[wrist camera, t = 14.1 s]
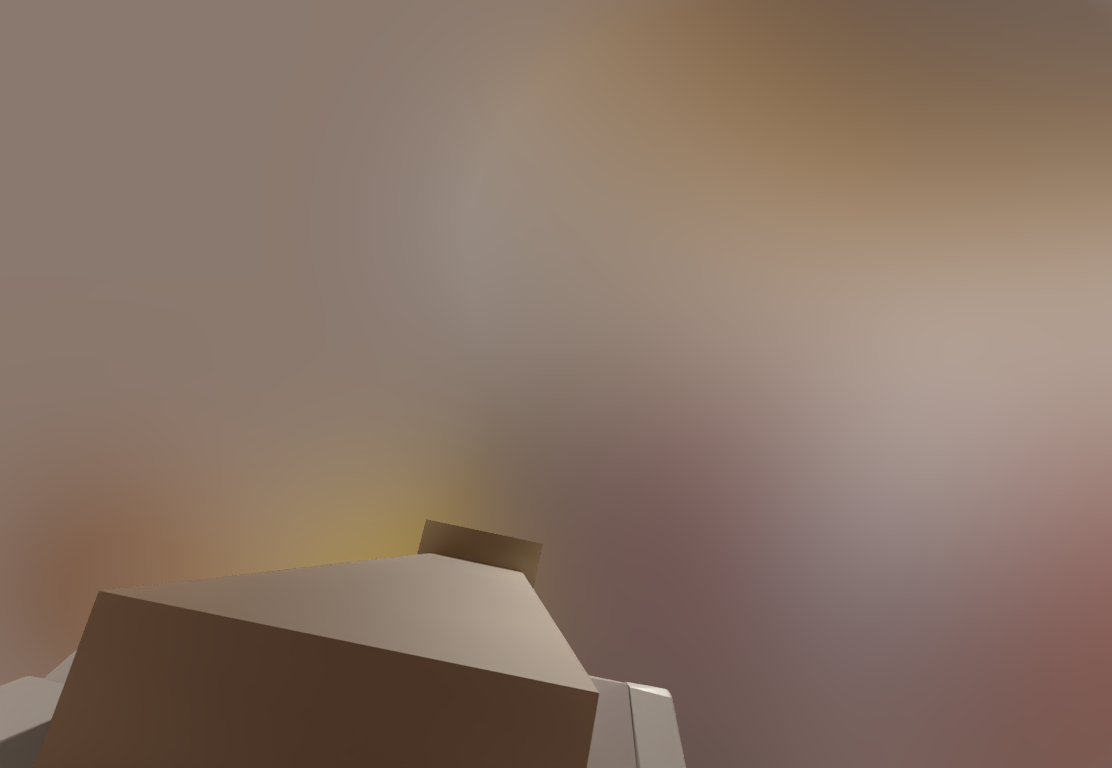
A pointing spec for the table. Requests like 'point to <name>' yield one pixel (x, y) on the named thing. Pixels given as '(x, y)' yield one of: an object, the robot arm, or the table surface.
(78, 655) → the wooden bar
